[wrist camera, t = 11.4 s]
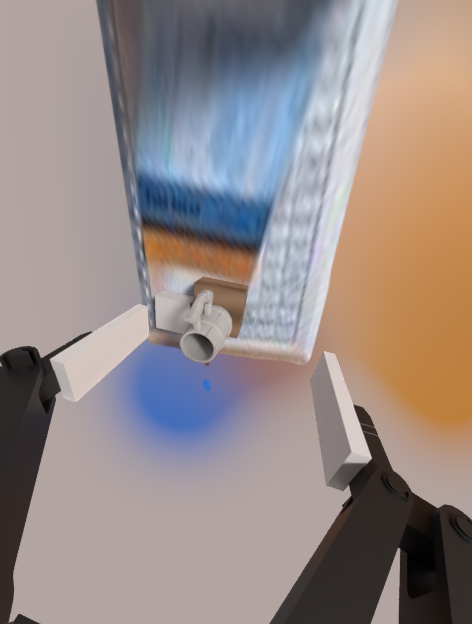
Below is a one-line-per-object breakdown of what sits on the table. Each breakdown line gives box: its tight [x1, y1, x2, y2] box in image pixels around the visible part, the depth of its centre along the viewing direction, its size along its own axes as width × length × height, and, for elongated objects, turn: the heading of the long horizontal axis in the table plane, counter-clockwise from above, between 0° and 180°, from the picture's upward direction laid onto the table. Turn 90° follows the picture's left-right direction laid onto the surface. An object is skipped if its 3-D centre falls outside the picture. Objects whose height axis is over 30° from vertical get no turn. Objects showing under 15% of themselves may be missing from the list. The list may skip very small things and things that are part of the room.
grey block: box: [155, 290, 193, 334], centre depth 46 cm, size 8×8×4 cm
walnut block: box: [193, 277, 249, 338], centre depth 43 cm, size 10×10×5 cm
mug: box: [180, 290, 232, 363], centre depth 35 cm, size 8×12×12 cm, turn 2°
